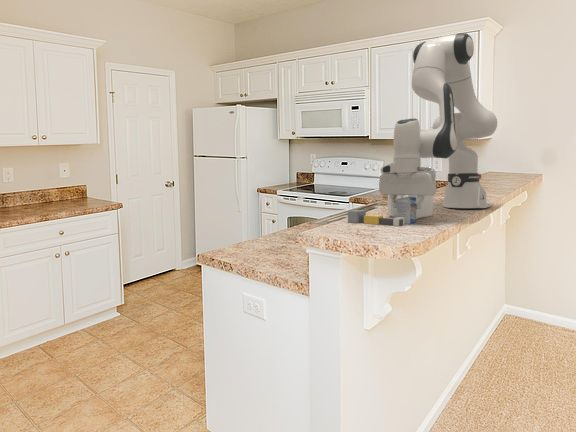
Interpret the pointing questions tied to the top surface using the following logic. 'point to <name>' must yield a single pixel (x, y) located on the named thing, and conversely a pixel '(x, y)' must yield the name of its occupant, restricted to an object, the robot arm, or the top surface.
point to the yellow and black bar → (382, 220)
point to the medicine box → (407, 209)
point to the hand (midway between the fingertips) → (406, 208)
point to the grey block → (355, 216)
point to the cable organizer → (423, 212)
